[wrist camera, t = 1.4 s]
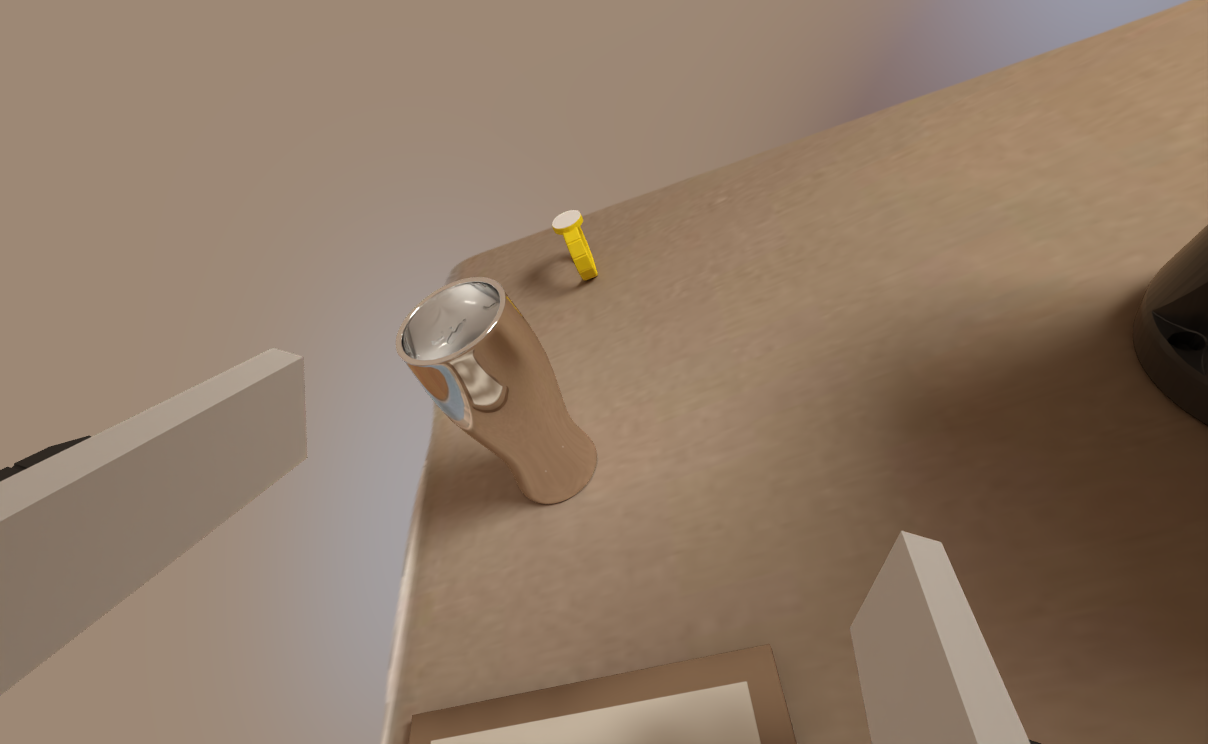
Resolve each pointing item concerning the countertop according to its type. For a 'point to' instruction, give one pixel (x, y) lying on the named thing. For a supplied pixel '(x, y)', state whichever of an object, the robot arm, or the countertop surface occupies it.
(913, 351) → the countertop surface
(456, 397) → the beer glass
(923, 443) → the countertop surface
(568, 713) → the picture frame
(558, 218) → the watch
